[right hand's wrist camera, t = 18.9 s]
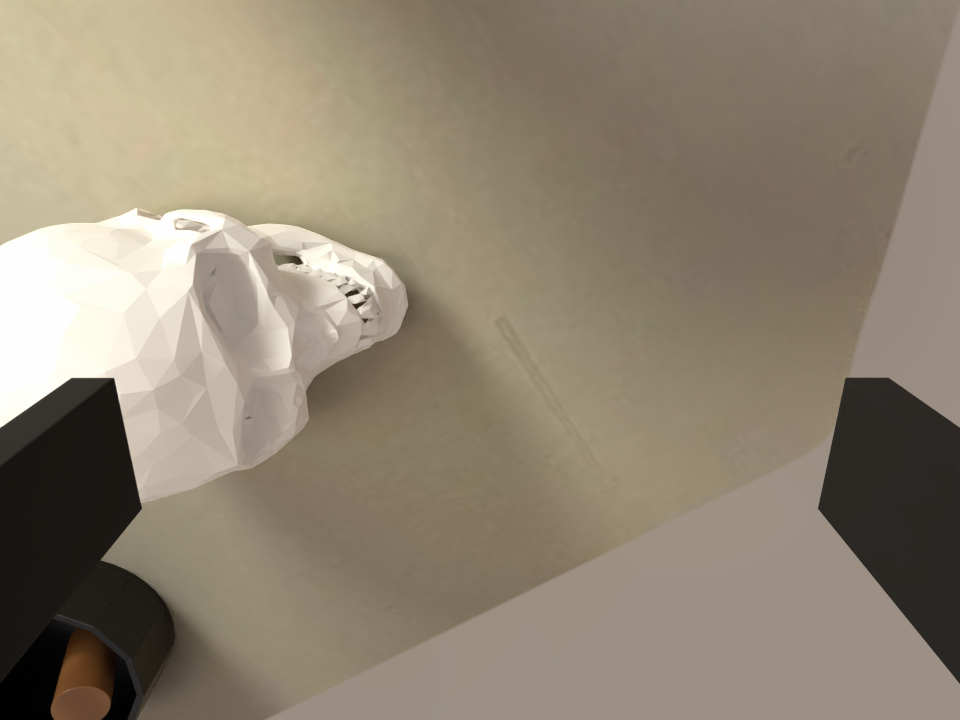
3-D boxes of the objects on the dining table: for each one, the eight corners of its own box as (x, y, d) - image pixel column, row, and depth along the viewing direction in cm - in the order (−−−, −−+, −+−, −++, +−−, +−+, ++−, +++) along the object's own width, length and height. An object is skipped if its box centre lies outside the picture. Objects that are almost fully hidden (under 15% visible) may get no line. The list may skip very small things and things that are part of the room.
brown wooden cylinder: (79, 666, 50) (63, 735, 45) (60, 632, 48) (41, 699, 43) (128, 648, 51) (118, 714, 45) (112, 615, 49) (99, 679, 44)
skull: (432, 377, 43) (404, 516, 28) (100, 432, 44) (-95, 592, 29) (386, 160, 39) (323, 187, 24) (19, 229, 40) (-258, 295, 25)
